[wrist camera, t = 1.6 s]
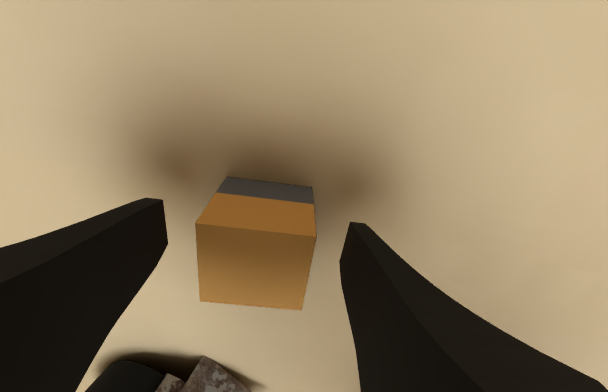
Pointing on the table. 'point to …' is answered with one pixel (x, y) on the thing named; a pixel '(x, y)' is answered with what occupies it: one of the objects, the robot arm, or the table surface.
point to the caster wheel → (165, 379)
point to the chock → (256, 244)
